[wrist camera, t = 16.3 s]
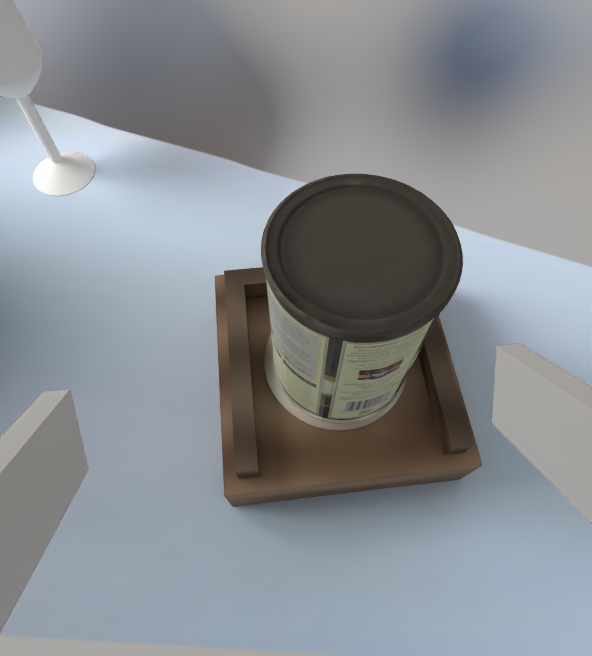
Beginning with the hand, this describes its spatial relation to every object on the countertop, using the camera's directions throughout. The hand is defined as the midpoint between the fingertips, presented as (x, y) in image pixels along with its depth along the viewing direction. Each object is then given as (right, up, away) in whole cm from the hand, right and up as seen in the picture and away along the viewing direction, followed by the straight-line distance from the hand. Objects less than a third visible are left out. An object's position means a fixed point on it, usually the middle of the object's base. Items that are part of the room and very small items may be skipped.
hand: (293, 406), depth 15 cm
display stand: (+3, -2, +27) cm, 27 cm away
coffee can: (+3, 0, +22) cm, 23 cm away
